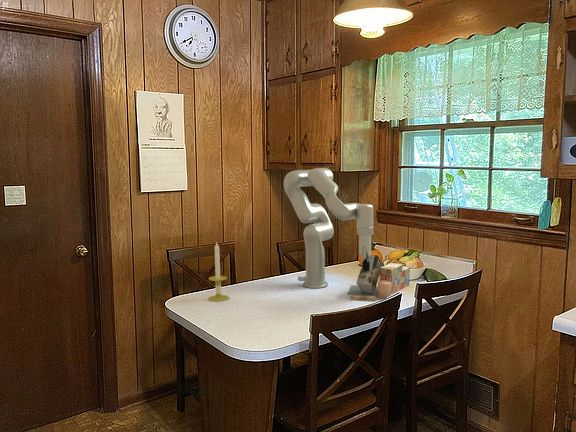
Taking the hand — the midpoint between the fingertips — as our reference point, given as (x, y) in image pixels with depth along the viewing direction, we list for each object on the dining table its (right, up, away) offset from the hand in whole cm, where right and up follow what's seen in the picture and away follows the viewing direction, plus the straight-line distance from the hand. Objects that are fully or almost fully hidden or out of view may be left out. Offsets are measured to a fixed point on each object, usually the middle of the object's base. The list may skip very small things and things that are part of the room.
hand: (366, 269), depth 224 cm
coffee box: (0, -9, 0) cm, 9 cm away
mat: (+1, -11, +9) cm, 14 cm away
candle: (-69, -14, +1) cm, 70 cm away
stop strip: (-2, -13, -6) cm, 15 cm away
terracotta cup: (+8, -12, -2) cm, 15 cm away
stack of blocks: (+16, -11, +11) cm, 22 cm away
